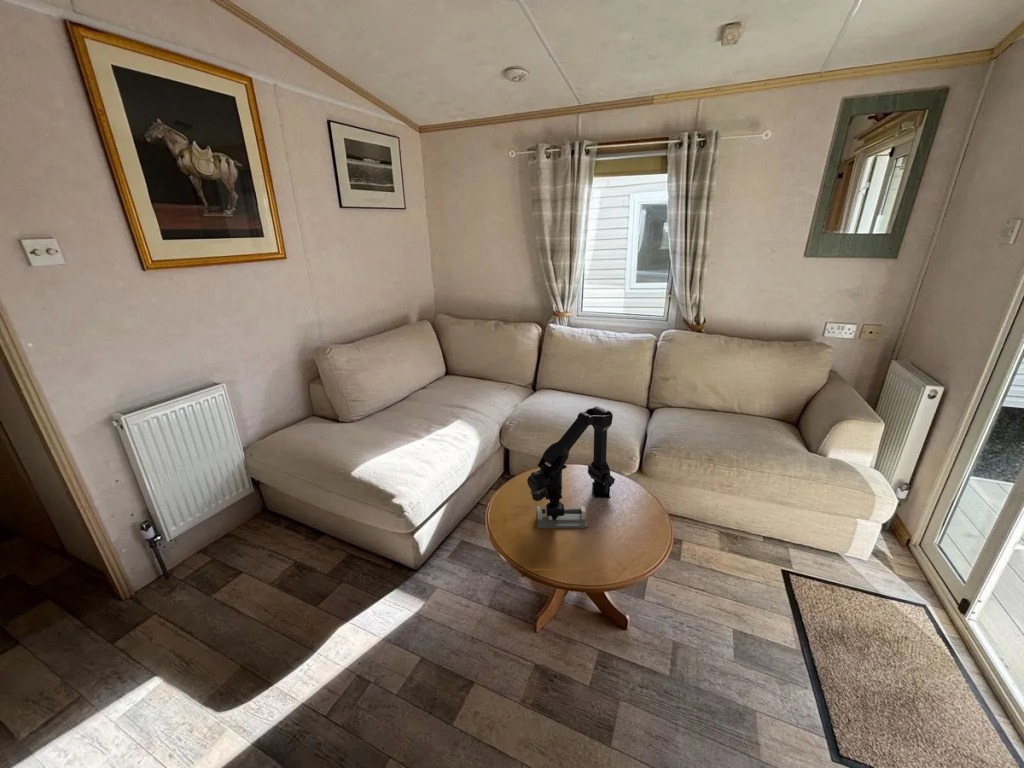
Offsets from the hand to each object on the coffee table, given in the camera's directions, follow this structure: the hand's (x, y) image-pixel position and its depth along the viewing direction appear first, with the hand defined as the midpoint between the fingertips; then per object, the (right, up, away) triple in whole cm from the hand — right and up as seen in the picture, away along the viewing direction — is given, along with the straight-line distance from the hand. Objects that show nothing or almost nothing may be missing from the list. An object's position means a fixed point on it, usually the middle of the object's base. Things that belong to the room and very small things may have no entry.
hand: (553, 515), depth 151 cm
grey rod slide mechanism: (+3, -1, 0) cm, 3 cm away
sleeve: (0, 0, 0) cm, 0 cm away
